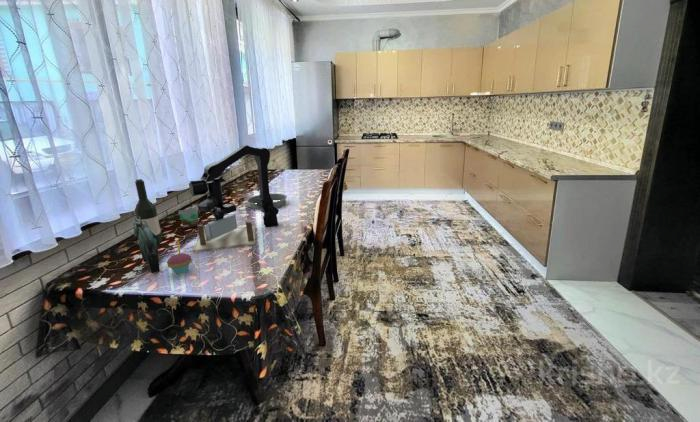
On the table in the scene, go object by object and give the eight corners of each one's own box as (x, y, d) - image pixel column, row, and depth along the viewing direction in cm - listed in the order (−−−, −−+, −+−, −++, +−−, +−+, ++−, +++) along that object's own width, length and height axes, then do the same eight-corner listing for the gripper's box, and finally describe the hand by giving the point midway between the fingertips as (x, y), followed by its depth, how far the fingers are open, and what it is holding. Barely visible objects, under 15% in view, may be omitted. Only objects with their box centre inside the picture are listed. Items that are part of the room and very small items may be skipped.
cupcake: (174, 267, 138) (168, 239, 135) (196, 266, 139) (191, 237, 135) (165, 277, 130) (159, 247, 127) (189, 276, 131) (183, 245, 127)
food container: (191, 229, 182) (188, 210, 179) (181, 229, 183) (177, 210, 180) (205, 221, 194) (202, 204, 191) (195, 221, 195) (192, 204, 192)
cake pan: (244, 203, 228) (243, 196, 227) (281, 198, 238) (281, 191, 236) (251, 213, 207) (250, 205, 205) (292, 206, 216) (291, 199, 215)
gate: (208, 241, 157) (206, 226, 155) (205, 240, 158) (202, 226, 156) (237, 228, 173) (235, 214, 171) (234, 227, 174) (232, 214, 172)
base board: (255, 227, 181) (255, 225, 180) (255, 244, 158) (255, 242, 158) (201, 233, 175) (201, 232, 174) (193, 252, 152) (192, 250, 152)
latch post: (254, 238, 162) (251, 219, 160) (253, 240, 160) (251, 221, 157) (248, 239, 162) (245, 220, 159) (248, 241, 159) (245, 222, 157)
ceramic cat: (139, 259, 148) (128, 213, 142) (156, 255, 151) (147, 210, 146) (147, 275, 132) (136, 225, 127) (166, 270, 136) (156, 221, 130)
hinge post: (206, 243, 160) (202, 224, 157) (205, 244, 158) (202, 225, 155) (201, 243, 159) (198, 224, 157) (200, 245, 157) (197, 226, 155)
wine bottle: (166, 239, 169) (153, 177, 160) (152, 246, 161) (137, 181, 153) (153, 238, 172) (140, 177, 163) (138, 244, 164) (123, 181, 155)
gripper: (186, 194, 160) (192, 226, 165) (215, 198, 152) (220, 232, 156) (206, 188, 169) (211, 219, 174) (235, 192, 161) (239, 225, 166)
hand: (219, 224), depth 167 cm, fingers closed
